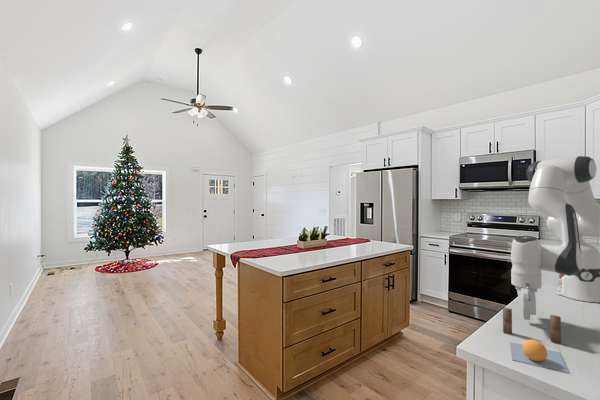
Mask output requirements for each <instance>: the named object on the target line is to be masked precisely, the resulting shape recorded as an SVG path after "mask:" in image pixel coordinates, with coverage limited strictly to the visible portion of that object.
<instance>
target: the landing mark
mask: <svg viewBox="0 0 600 400" xmlns="http://www.w3.org/2000/svg"><path fill="white" fill-rule="evenodd" d="M522 346H523V343H516V342H512V341H509V347H510V353H511V360H512V361H514V362H518V363H523V364H527V365H531V366H536V367H540V368H544V369H549V370H552V369H553V370H554V371H556V372H557V371H558V372H561V371H562V373H565V372H566V374H569V373H570V372H569V369H568V367H567V365H566V363H565V361H564V358H563V356H562V354H561V352H560V351H556V350H551V349H546V350H547V357H546V359H545V360H543V361H533V360H531V359H529V358H528V357H527V356H526V355H525V354H524V352H523V349H522Z"/></svg>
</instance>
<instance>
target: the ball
mask: <svg viewBox="0 0 600 400" xmlns="http://www.w3.org/2000/svg"><path fill="white" fill-rule="evenodd" d="M522 345H523V346H522V349H523V352H524V354H525V355H526V356H527V357H528V358H529V359H531V360H533V361H543V360H545V359H546V357H547V350H548V349H547V347H546V346H545V345H544V344H543V343H542V342H540V341H538V340H536V339H527V340H525V341H524V342H523V343H522Z"/></svg>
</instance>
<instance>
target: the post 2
mask: <svg viewBox="0 0 600 400" xmlns="http://www.w3.org/2000/svg"><path fill="white" fill-rule="evenodd" d="M549 317H550V318H549V321H550V322H549V324H550V325H549V327H550V329H549V330H550V333H549V334H550V342H551V343H553V344H558V345H560V344H562V320H561V319H562V318H561V317H560V316H559V315H553V314H551V315H550V316H549Z"/></svg>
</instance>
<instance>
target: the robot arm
mask: <svg viewBox="0 0 600 400" xmlns="http://www.w3.org/2000/svg"><path fill="white" fill-rule="evenodd" d="M596 174H597V164H596V162H595V159H593V158H592V157H590V156H582V155H579V156H567V157H564V156H563V157H557V158H552V159H546V160H545V159H544V160H538V161H534V162H531V163H530V165H528V167H527V170H526V178H527V179H528V181H529V182H530V186H529V190H528V198H527V199H528V200H527V201H528V205H529V206H530V208H531V209H532V210H533V211H535V212H537V213H539V214H540V215H543V216H546V217H547V219H546V227H547V229H548V230H549V231H550V232H551V233H553V234H554V235H556V236H557V237H558V238H559V239H560V240H561V241H560V242H562V244H561V245H553V244H552V245H551V244H543V243H540V241H539V238H538V237H536V236H532V235H519V236H515V237H514V238H513V239H512V242H511V250H510V261H511V265H512V266H511V269H510V277H511V278H510V281H511V285H513V286H515V289H516V292H517V297H518V301H519V304H520V307H521V310H522V311H521V312H522V317H523V319H524V320H526V321H530V320H531V316H536V314H537V304H536V303H537V299H536V293H538V289H542V286H543V285H542V283H543V282H542V277H543V276H542V271H546V272H551V273H557V274H558V275H559V274H564V276H563V277H562V279H561V278H560V279H559V278H558V284H559V285H558V286H557V287H556V292H555V294H556V295H558V296H562V297H567V298H569V299H573V300H577V301H581V302H589V303H600V251H599V249H598V248H596V247H595V246H594V245H592V244H589V243H587V242H586V240H584V239H583V237H588V238H589V237H592V238H600V203H598V202H597V200H596V199H595V196H594V193H593V190H592V187H591V186H592V185H591V182H590V181H592V180H593V179H594V178H595V177H596ZM561 284H562V285H561Z"/></svg>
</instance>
